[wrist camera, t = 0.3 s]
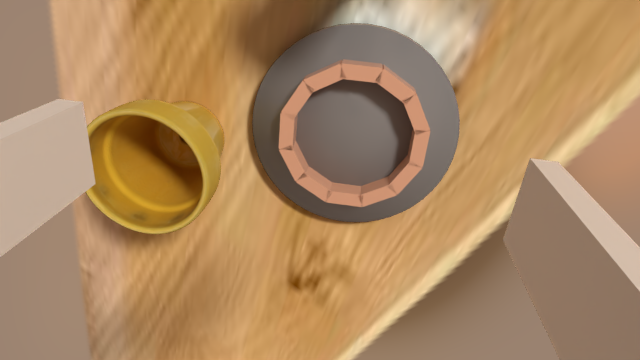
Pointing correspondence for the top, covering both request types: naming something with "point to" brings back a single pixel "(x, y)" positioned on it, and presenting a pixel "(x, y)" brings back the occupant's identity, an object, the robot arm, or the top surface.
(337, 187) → the round tray
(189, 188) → the plant pot
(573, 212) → the robot arm
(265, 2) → the top surface
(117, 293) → the top surface
